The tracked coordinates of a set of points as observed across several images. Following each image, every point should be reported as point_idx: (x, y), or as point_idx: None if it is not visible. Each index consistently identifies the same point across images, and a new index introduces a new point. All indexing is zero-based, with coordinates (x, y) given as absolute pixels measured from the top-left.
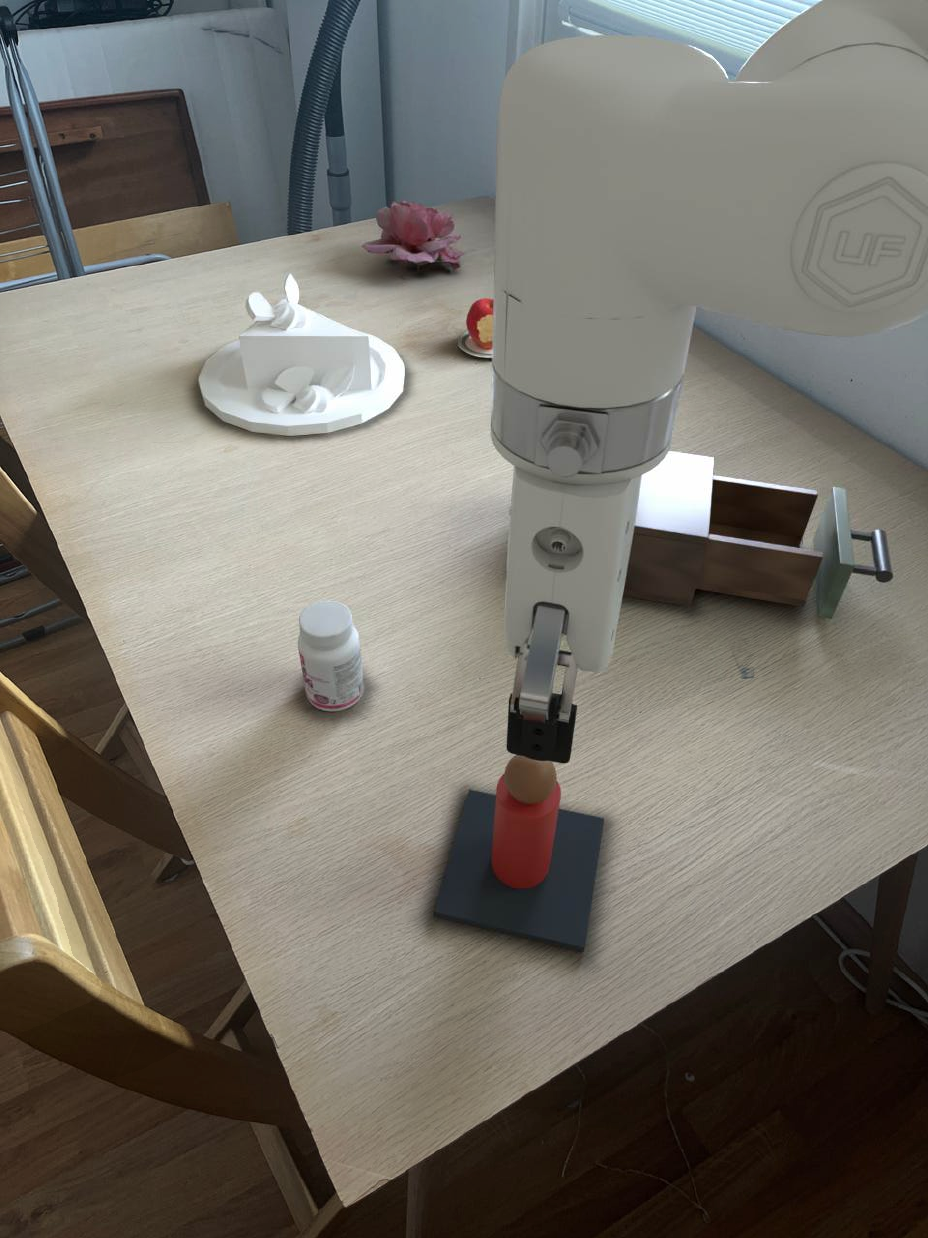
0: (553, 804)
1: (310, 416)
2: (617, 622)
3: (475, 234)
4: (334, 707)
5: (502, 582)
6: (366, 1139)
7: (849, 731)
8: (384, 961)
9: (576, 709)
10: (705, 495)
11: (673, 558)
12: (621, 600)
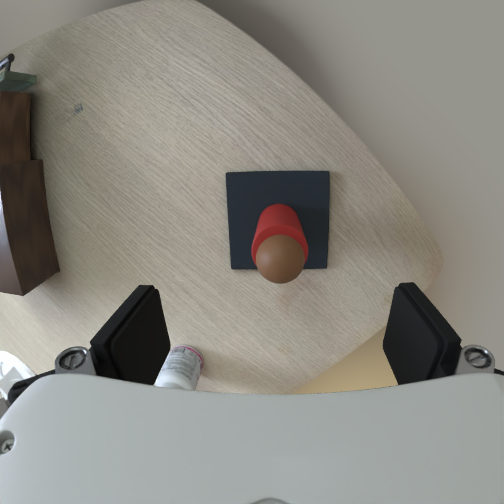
0: (288, 228)
1: None
2: (431, 434)
3: None
4: (200, 357)
5: (67, 282)
6: (433, 265)
7: (110, 39)
8: (356, 284)
9: (454, 340)
10: None
11: (16, 183)
12: (408, 495)
